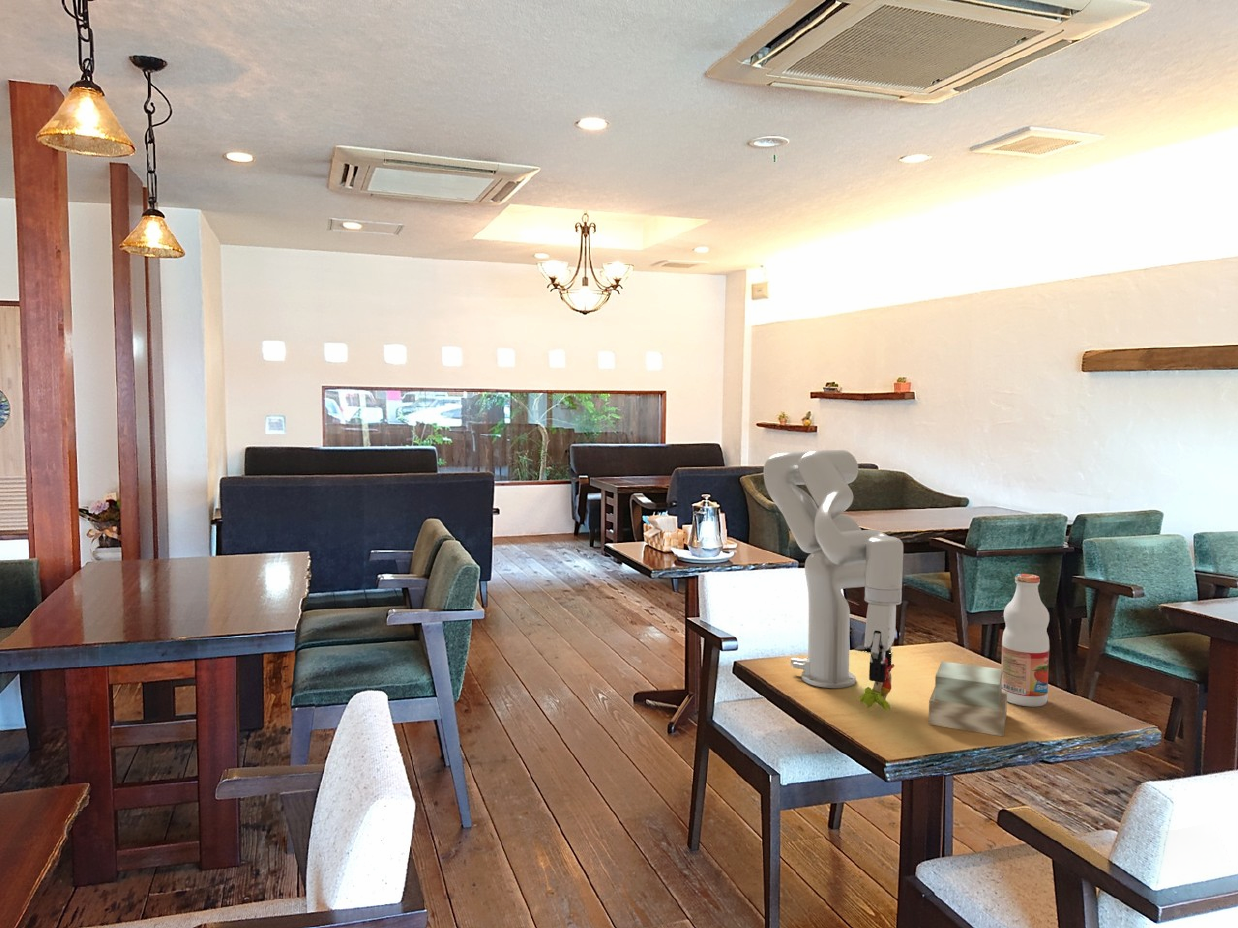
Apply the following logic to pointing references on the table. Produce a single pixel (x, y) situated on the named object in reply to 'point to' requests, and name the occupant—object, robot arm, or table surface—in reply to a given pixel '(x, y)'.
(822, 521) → the robot arm
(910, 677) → the table surface
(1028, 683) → the fruit juice
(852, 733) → the table surface
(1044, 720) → the table surface
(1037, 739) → the table surface
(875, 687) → the bird rattle
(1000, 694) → the striped stacked block
